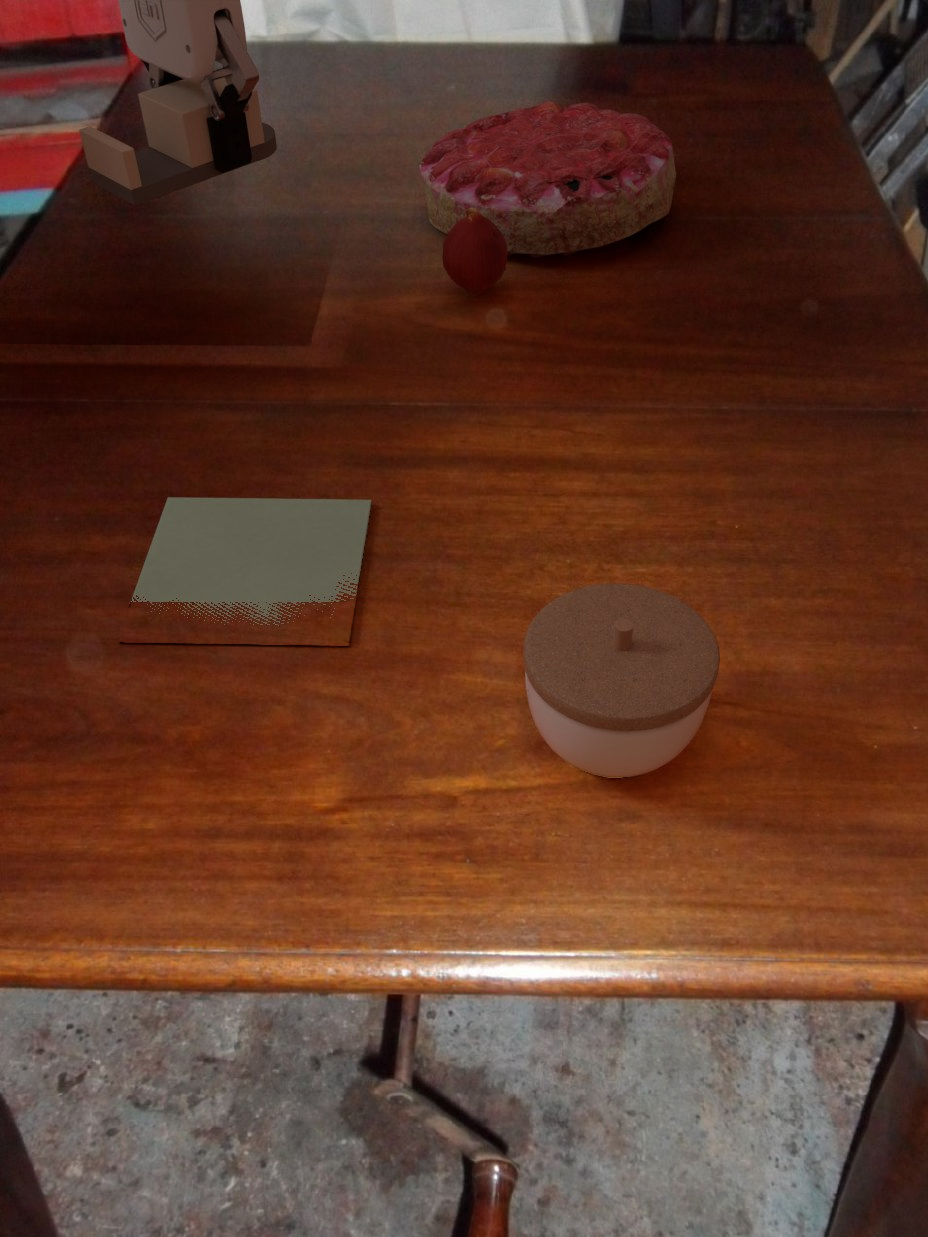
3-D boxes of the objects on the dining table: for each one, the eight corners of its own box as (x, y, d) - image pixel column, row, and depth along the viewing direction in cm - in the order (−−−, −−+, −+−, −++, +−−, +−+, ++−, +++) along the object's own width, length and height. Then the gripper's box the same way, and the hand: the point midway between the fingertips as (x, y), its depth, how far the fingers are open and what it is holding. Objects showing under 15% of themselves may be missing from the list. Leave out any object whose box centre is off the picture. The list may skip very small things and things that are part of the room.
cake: (721, 233, 111) (727, 146, 106) (477, 288, 106) (470, 200, 101) (614, 152, 128) (614, 74, 123) (399, 197, 123) (390, 117, 118)
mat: (118, 643, 75) (117, 639, 74) (168, 501, 85) (167, 497, 85) (349, 647, 74) (348, 642, 74) (371, 503, 84) (371, 499, 84)
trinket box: (523, 811, 65) (526, 698, 58) (519, 675, 72) (521, 560, 65) (713, 810, 65) (739, 696, 58) (690, 674, 72) (710, 558, 65)
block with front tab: (134, 206, 87) (118, 135, 83) (92, 182, 90) (74, 112, 86) (291, 149, 94) (283, 81, 90) (247, 129, 97) (237, 62, 93)
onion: (476, 272, 109) (475, 187, 103) (520, 293, 106) (521, 207, 100) (431, 294, 106) (427, 207, 100) (474, 316, 103) (473, 228, 97)
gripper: (48, -125, 82) (109, 138, 95) (188, -80, 73) (235, 202, 86) (138, -143, 85) (185, 113, 98) (282, -102, 77) (313, 172, 90)
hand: (208, 152), depth 92 cm, fingers closed on block with front tab, 6 cm apart
